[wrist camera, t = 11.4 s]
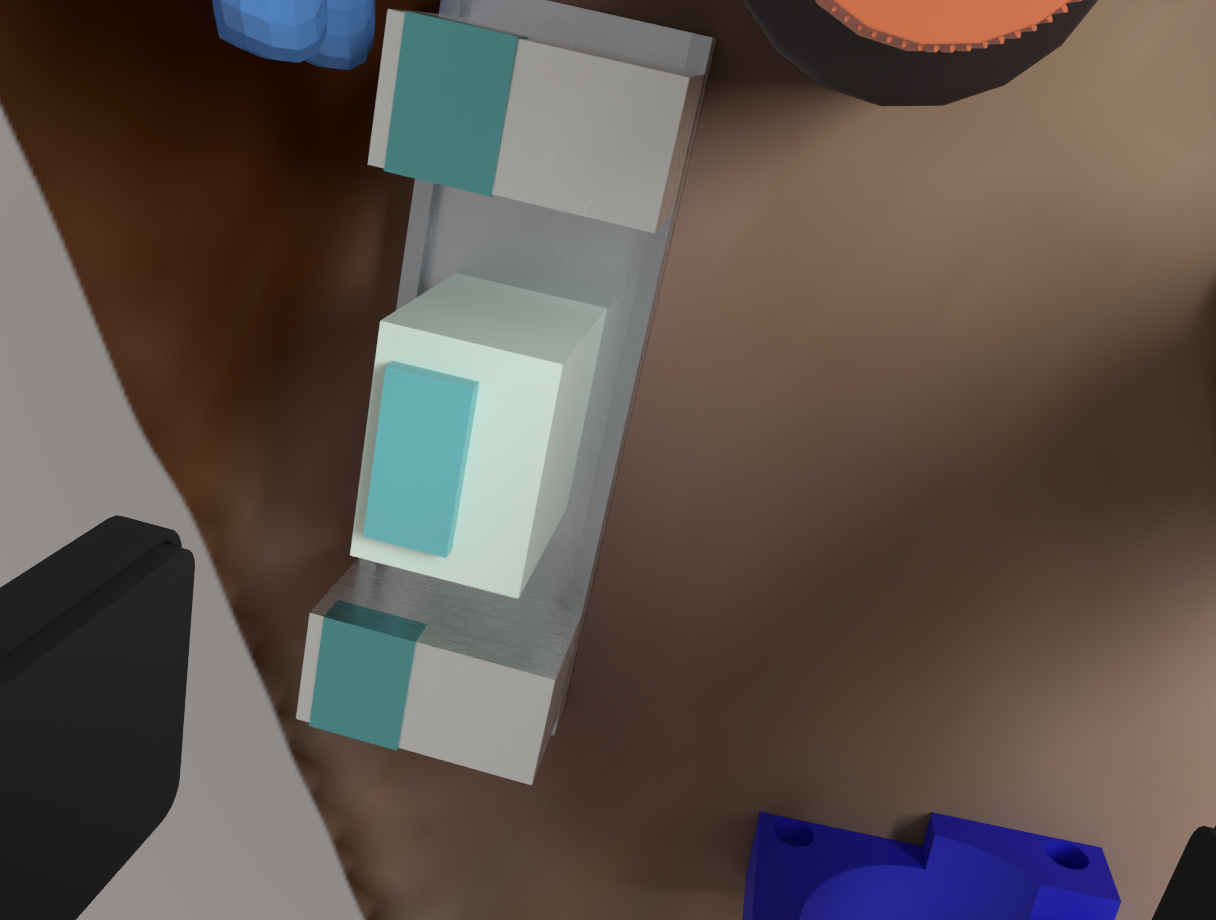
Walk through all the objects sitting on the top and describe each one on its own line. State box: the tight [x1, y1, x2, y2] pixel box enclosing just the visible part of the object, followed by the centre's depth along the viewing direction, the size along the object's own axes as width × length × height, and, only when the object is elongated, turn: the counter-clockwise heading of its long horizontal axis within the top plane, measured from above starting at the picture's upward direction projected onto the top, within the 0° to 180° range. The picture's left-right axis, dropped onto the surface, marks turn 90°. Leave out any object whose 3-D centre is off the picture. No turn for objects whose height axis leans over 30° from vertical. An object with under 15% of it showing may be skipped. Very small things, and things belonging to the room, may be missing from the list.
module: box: [350, 273, 607, 599], centre depth 35 cm, size 5×7×8 cm
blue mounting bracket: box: [743, 812, 1121, 920], centre depth 40 cm, size 12×4×6 cm, turn 82°
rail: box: [296, 0, 717, 785], centre depth 36 cm, size 8×24×6 cm, turn 168°
